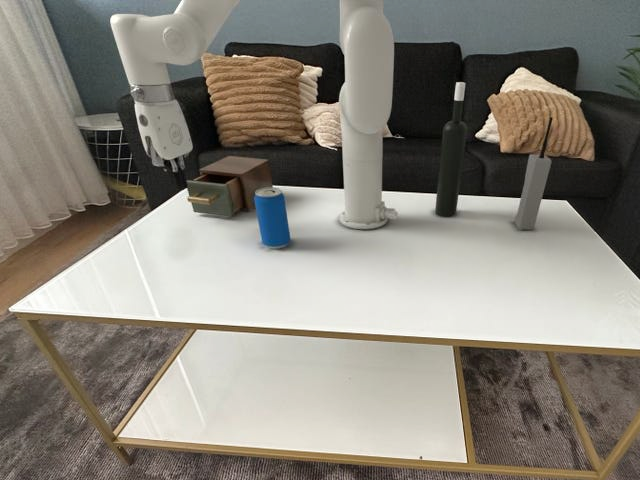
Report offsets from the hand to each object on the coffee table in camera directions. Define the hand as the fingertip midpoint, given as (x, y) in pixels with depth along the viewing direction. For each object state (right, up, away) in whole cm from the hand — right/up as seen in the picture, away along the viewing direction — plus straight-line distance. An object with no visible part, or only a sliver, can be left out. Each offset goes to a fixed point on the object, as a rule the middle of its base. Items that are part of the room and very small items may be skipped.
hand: (180, 188), depth 93 cm
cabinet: (+6, +7, +24) cm, 25 cm away
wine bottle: (+64, +1, +19) cm, 67 cm away
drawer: (+4, +1, +16) cm, 16 cm away
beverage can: (+22, -13, +2) cm, 25 cm away
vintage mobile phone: (+84, -5, +12) cm, 85 cm away
